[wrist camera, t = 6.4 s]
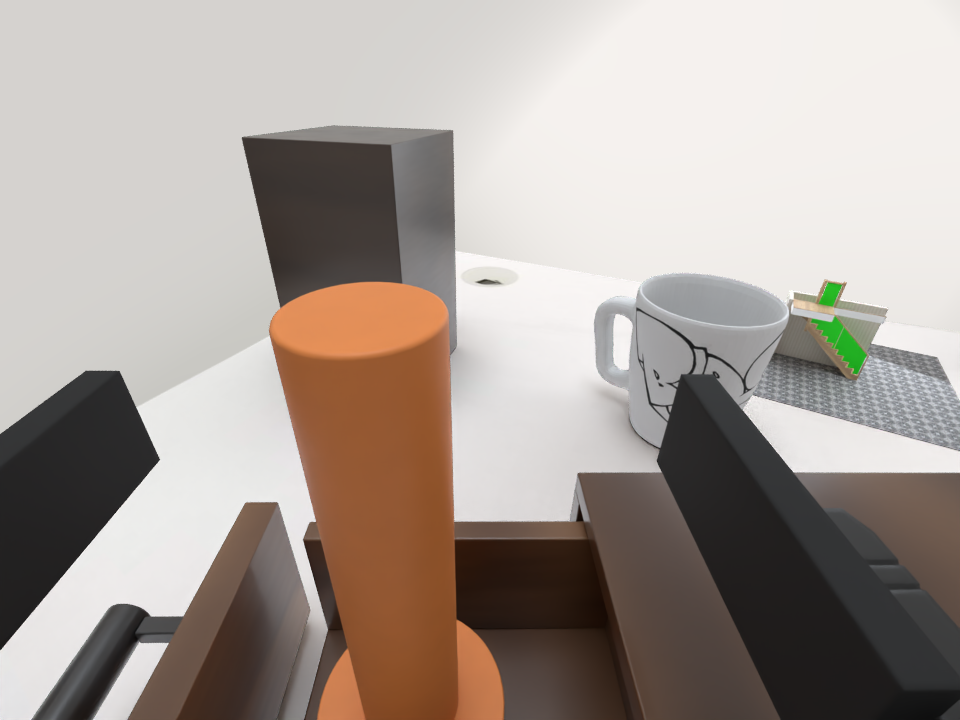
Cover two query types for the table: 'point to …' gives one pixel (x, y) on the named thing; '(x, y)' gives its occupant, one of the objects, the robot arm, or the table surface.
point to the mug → (688, 341)
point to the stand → (357, 208)
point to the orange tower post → (384, 498)
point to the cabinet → (697, 601)
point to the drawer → (284, 613)
